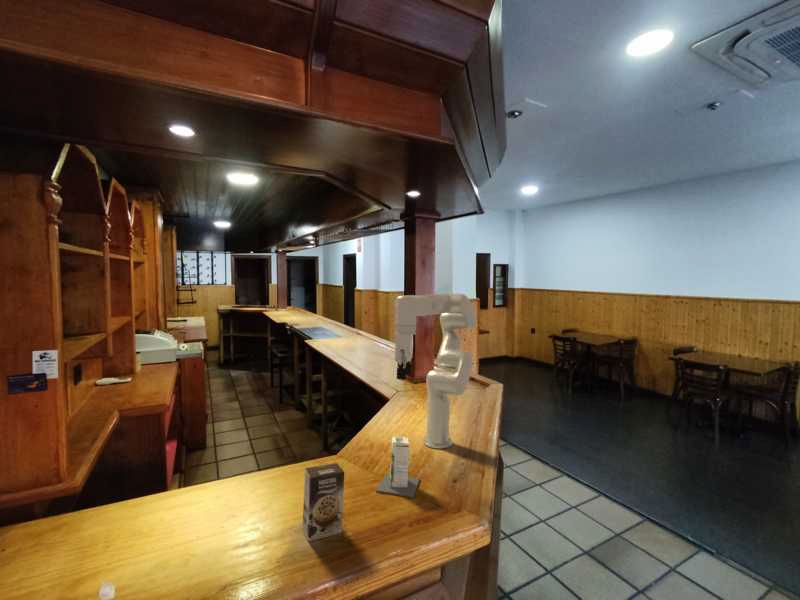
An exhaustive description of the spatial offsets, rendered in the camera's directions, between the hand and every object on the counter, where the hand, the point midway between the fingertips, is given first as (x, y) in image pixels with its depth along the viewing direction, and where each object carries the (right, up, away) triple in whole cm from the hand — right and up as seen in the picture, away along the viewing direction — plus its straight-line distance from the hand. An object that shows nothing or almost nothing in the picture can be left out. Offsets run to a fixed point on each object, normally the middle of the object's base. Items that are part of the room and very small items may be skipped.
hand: (404, 376), depth 137 cm
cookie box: (-22, -33, -38) cm, 55 cm away
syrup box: (-2, -33, -13) cm, 35 cm away
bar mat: (-2, -33, -13) cm, 36 cm away
